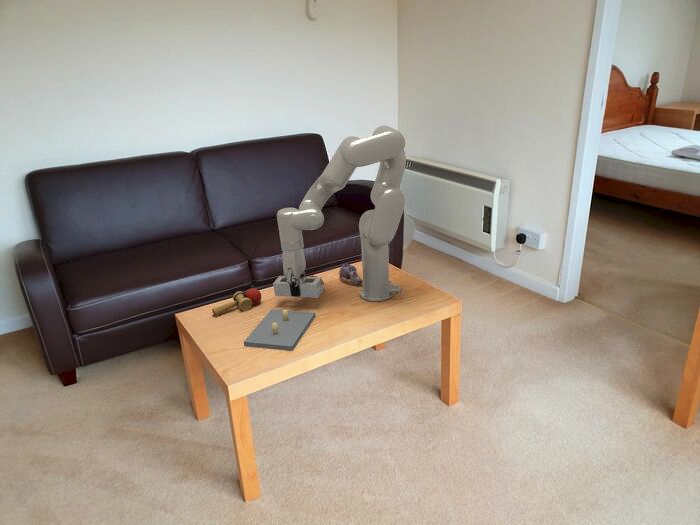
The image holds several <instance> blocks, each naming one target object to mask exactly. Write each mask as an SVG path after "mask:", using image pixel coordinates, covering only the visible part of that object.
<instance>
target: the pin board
mask: <svg viewBox="0 0 700 525" xmlns="http://www.w3.org/2000/svg"><path fill="white" fill-rule="evenodd" d="M315 318H316V313H315V312H311V311H310V312H309V311H302V310H301V311H300V310H299V311H298V310H288V309H276V308H275V309H272V308H271V309H270V310H269V311H268V312H267V314H266V315H265V316H264V317H263V318H262V320H261V321H260V322H258V324H257V326H255V328H254V329H253V330H251V332H250V333H249V335H248V336H246V339H245V340H244V341H243V345H244V347H250V348H251V347H252V348H263V349H271V350H283V351H291V352H292V351H294V349H295V348H296V346H297V345H298V344H299V342H300V340H301V339H302V337H303V336H304V335H305V333H306V331H307V330H308V329H309V327H310V325H311V324H312V322H313V320H315Z"/></svg>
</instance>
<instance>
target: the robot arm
mask: <svg viewBox="0 0 700 525" xmlns="http://www.w3.org/2000/svg"><path fill="white" fill-rule="evenodd" d="M405 147H406V138H405V137H404V135H403V134H402V132H401V131H399V130H397V129H395V128H393V127H391V126H388V125H380V126H378V127H376V128H375V129H374V131H373V133H372V135H371V136H367V137H363V138H359V137H357V136H353V135H351V136H347V137H345V138H344V139H342V141H341V143H340V144H339V146H338V147H337V149H336V150H335V153H334V154H333V155H332V158H331V159H330V161H329V163H328V164H327V165H326V167H325V169H324V170H323V172H322V174H320V176H319V177H318V178H317V179H316V180H315V181H314V183H313V184H312V185H311V186H310V188H309V189H308V191H307V193H306V194H305V195H304V197H303V199H302V200H301V203H300V204H299V206H298V209H297V208H295V207H284V208H281V209H279V210H278V211H277V213H276V219H277V226H278V233H279V238H280V245H281V251H282V267H283V276H284V277H285V279H287V283H288V284H289V287H290V291H291V296H294V297H293V298H300V297H299V296H300V290H299V286H298V278H299V277H306V272H305V271H306V268H307V267H306V264H307V263H306V257H305V251H304V248H305V247H304V238H303V231H312V230H318V229H320V228H321V227H322V226H323V224H324V222H325V217H324V214H323V212H322V209H323V207H324V206H325V204H326V203H327V201H328V200H329V199H330V197H332V195H334V194H335V193H337V192H338V191H341V190H343V189H344V188H345V187H346V185H347V183H348V182H349V180H350V179H351V177H352V176H353V174H354V172H355V171H356V169H357V168H363V167H367V166H370V165H374V164H377V163H379V166H378V171H377V175H376V177H375V180H374V183H373V186H372V188H371V191H370V200H371V202H372V204H373V205H374V209H369V210H366V211H365V212H364V213H362V214H361V216H360V218H359V223H358V229H359V236H360V245H361V247H360V248H361V266H362V267H361V268H362V270H361V271H362V288H361V289H359V291H358V292H359V293H358V294H359V297H360V298H361V299H363V300H364V301H368V302H383V301H387V300H390V299H391V298H392V297H393V296H394V295H395V293H397V294H401V293H402V287H400V285H398V284H392V280H390V266H389V264H390V260H389V258H390V256H389V253H390V251H389V244H390V243H391V242H392V241H393V240H394V237H395V236H396V233H397V231H398V227H399V224H400V221H401V219H402V215H403V213H404V210H405V205H406V199H405V197H406V196H405V195H404V193H403V191H402V190H401V189H400V188H401V185H402V184H401V183H402V181H403V178H404V173H405V169H406V163H407V158H406V152H405ZM292 276H293V277H292ZM292 279H295V282H294V281H292Z"/></svg>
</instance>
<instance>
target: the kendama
mask: <svg viewBox="0 0 700 525" xmlns="http://www.w3.org/2000/svg"><path fill="white" fill-rule="evenodd" d="M261 293H262V292H260V290H259V289H257V288H255V287H254V288H253V287H252V288H249V289H248V290H246V292H245V293H244V292H243V291H236V292H234V294H233V296H232V299H233V301H231V302H227V303H225V304H223V305H220V306H216V307H213V308H212V310H211V311H212V313H213V315H214V317H218V316H220V315H222V314H223V313H226V312H228V311H230V310H231V309H233V308H235V307H236V306H238V308H239V309H240V311H242V312H243V311H244V312H245V311H248V310H250V309H251V308H252V306H255V305H258V304H259V303H260V302H261V300H262V294H261Z"/></svg>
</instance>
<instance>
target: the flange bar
mask: <svg viewBox="0 0 700 525" xmlns="http://www.w3.org/2000/svg"><path fill="white" fill-rule="evenodd" d="M292 277H294V276H292ZM322 280H323V278H322V277H321V276H318V277H308V276H305V277H299V278H298V286H299V290H300V296H299V297H298V298H315V299H317V298H319V297H320V296H321V294H322V293H323V291H324V285H323V283H322ZM292 281H294V282H295V279H292ZM272 285H273V291H274V296H275V297H290V298H291V297H292V298H295V297H294V296H291V291H290V287H289V284H288V283H287V279H285V277H284V275H282V276H281V275H279V276H278V277H277V278H276V279H275V281H274V282H273V283H272Z"/></svg>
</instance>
